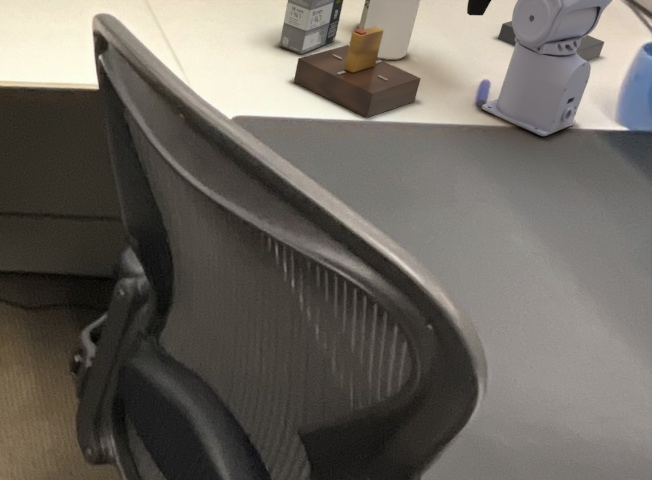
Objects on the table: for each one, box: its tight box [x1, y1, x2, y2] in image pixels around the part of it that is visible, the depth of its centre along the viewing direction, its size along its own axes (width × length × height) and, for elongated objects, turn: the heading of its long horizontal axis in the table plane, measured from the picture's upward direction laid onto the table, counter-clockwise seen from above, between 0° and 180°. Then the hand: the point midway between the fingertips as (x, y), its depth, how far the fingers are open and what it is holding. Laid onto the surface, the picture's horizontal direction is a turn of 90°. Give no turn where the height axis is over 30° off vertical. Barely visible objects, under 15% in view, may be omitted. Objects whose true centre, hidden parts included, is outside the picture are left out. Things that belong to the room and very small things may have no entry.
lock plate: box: [293, 44, 421, 118], centre depth 139 cm, size 12×10×3 cm
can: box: [364, 0, 421, 61], centre depth 148 cm, size 6×6×12 cm
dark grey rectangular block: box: [497, 20, 605, 62], centre depth 161 cm, size 12×9×4 cm
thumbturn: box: [344, 27, 383, 73], centre depth 137 cm, size 5×1×5 cm, turn 135°
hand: (460, 3), depth 143 cm, fingers open, 7 cm apart
